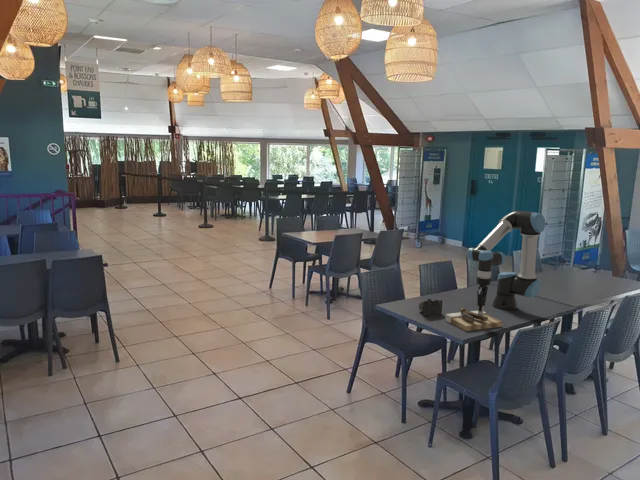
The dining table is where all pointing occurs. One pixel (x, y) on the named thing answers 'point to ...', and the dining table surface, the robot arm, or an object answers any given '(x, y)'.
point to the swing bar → (474, 315)
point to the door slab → (476, 323)
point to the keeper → (468, 318)
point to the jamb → (458, 315)
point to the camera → (431, 307)
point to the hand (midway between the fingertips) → (480, 316)
